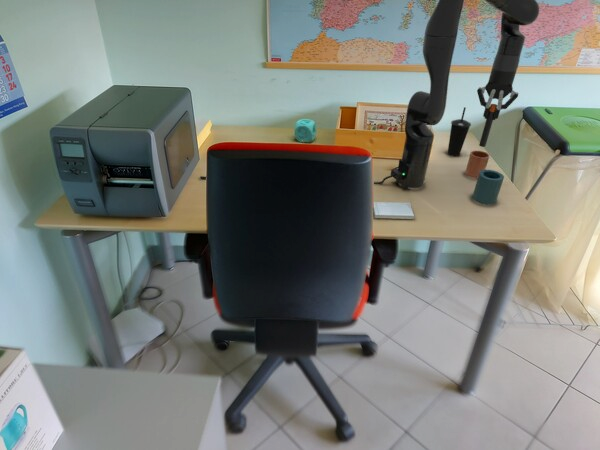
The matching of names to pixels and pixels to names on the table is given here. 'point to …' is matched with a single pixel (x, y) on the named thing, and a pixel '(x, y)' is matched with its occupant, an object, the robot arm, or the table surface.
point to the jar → (488, 186)
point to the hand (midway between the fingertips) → (490, 118)
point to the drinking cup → (458, 135)
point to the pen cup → (476, 163)
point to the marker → (488, 125)
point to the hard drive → (393, 210)
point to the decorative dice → (305, 130)
